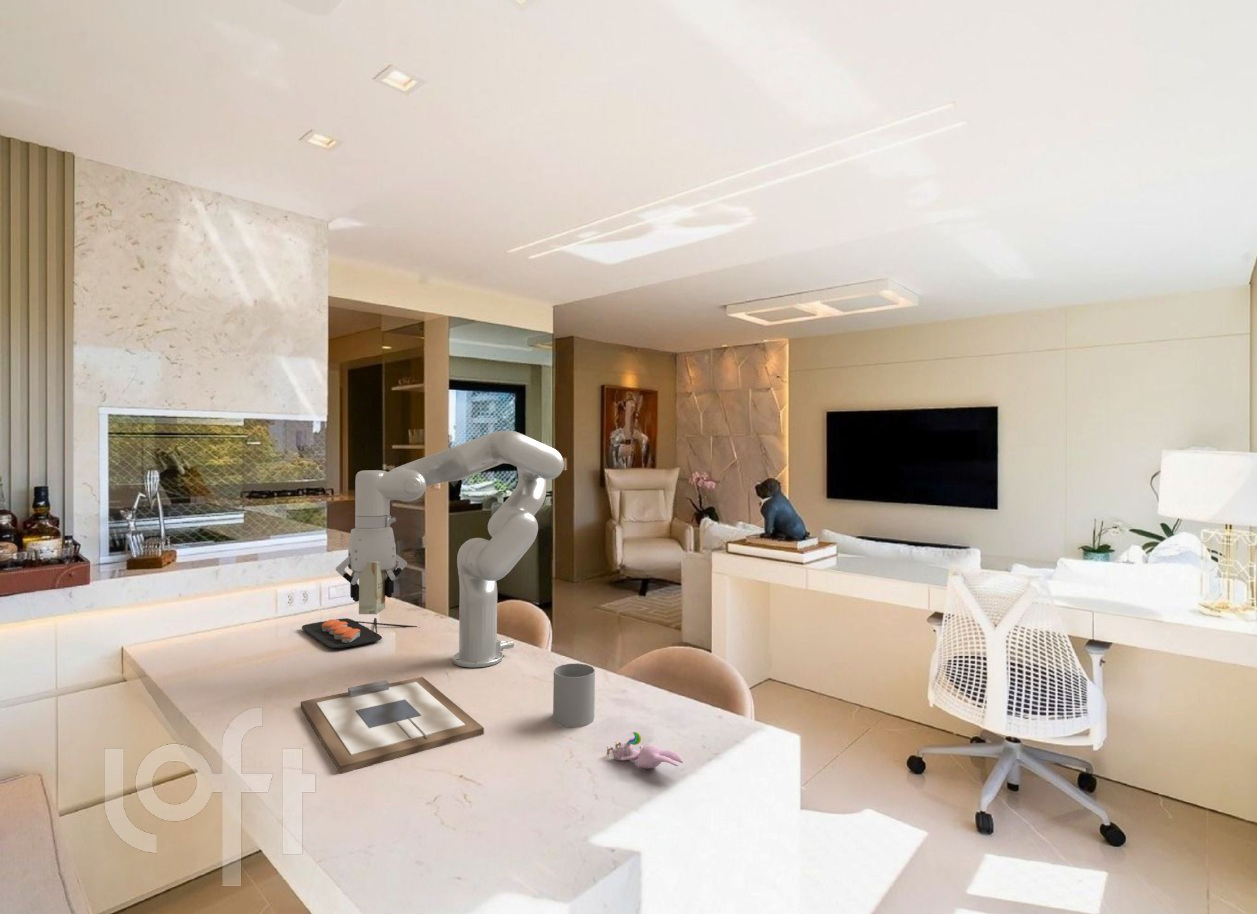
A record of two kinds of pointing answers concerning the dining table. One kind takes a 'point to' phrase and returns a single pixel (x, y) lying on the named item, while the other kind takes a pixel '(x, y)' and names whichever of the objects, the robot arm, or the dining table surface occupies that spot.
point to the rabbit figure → (644, 753)
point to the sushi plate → (344, 632)
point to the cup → (574, 695)
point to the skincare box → (372, 589)
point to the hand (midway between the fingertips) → (372, 597)
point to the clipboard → (386, 722)
